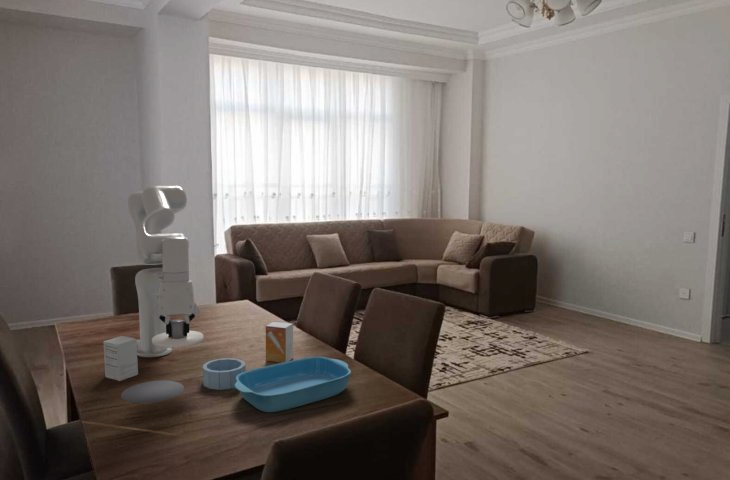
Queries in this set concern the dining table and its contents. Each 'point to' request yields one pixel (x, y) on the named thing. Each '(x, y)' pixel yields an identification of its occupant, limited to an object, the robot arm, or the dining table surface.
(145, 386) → the mat
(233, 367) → the bowl
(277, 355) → the small box
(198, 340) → the lid
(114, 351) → the supplement box
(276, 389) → the casserole dish
